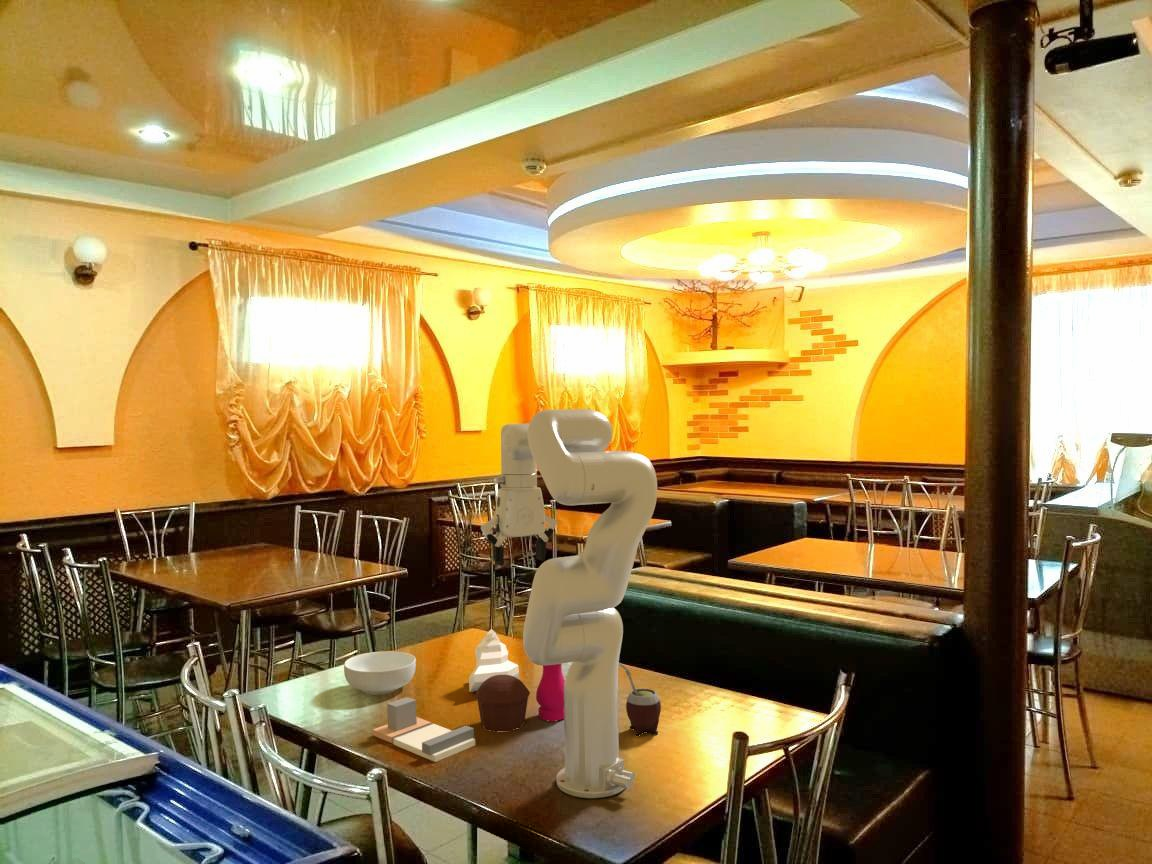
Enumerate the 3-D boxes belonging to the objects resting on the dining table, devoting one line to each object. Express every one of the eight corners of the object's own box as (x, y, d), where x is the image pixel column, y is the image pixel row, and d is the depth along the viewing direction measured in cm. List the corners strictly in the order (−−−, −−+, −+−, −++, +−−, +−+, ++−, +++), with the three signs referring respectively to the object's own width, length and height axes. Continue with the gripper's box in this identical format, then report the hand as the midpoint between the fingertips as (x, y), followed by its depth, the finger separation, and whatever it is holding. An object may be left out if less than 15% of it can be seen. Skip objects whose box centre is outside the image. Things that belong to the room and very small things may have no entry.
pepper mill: (565, 723, 171) (564, 628, 171) (532, 721, 172) (530, 627, 172) (572, 711, 178) (571, 620, 178) (540, 709, 179) (539, 619, 179)
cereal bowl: (400, 703, 185) (400, 672, 185) (332, 700, 187) (331, 670, 187) (426, 679, 202) (425, 651, 201) (362, 677, 204) (362, 649, 204)
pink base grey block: (431, 728, 169) (430, 698, 169) (391, 743, 162) (391, 712, 162) (412, 720, 174) (411, 692, 173) (372, 735, 166) (372, 705, 166)
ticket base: (477, 744, 161) (477, 729, 161) (433, 762, 152) (432, 747, 152) (434, 728, 169) (434, 714, 169) (390, 745, 161) (390, 730, 161)
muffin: (465, 723, 172) (464, 676, 172) (508, 710, 179) (507, 665, 179) (497, 740, 163) (496, 690, 163) (541, 725, 170) (540, 678, 170)
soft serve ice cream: (451, 693, 195) (448, 632, 199) (506, 686, 204) (502, 628, 207) (474, 693, 185) (471, 630, 189) (531, 686, 194) (527, 625, 197)
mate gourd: (667, 729, 167) (666, 656, 167) (648, 742, 160) (647, 666, 160) (635, 722, 171) (634, 651, 171) (616, 734, 165) (615, 661, 164)
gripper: (488, 485, 165) (489, 569, 166) (563, 481, 173) (564, 561, 174) (474, 482, 172) (475, 563, 172) (547, 478, 180) (548, 555, 181)
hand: (520, 562), depth 173 cm, fingers open, 9 cm apart
